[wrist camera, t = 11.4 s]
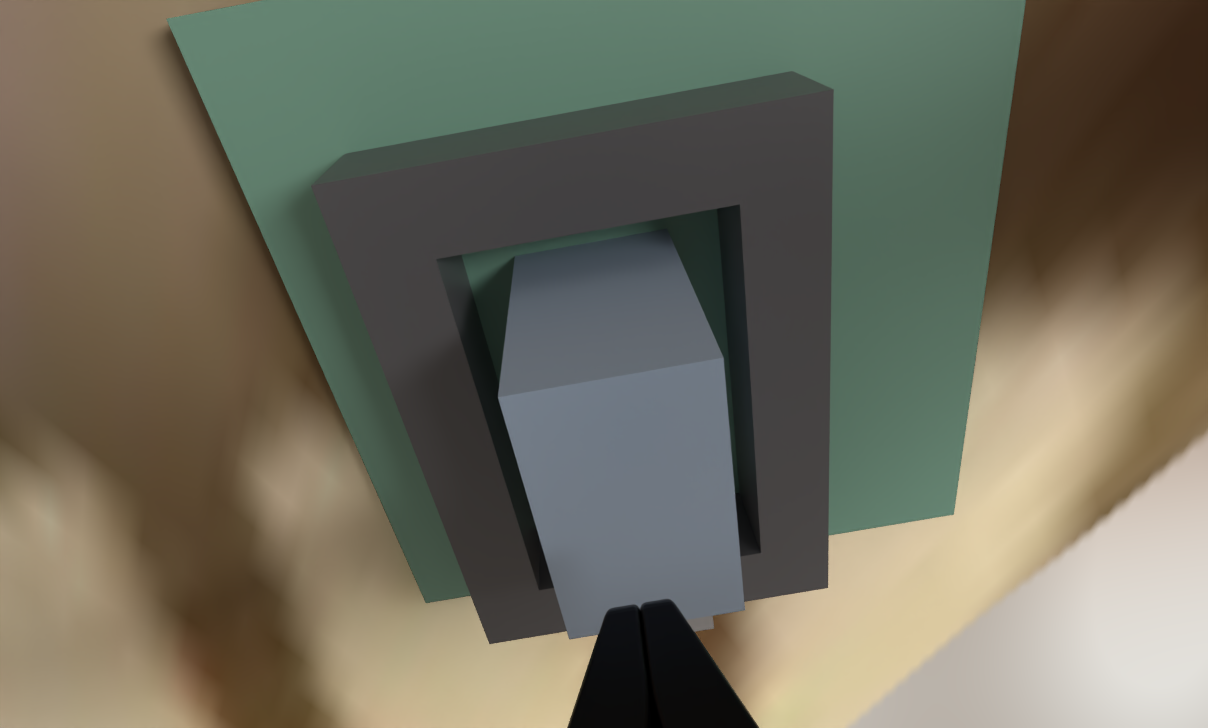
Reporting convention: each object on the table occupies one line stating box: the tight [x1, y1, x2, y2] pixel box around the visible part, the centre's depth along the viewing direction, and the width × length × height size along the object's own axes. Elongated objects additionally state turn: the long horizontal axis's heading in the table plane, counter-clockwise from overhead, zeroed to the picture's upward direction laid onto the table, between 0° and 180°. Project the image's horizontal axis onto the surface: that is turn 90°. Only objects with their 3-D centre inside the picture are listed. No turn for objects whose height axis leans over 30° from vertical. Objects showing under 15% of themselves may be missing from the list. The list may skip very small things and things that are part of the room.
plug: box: [498, 229, 745, 639], centre depth 13 cm, size 3×6×5 cm, turn 9°
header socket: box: [311, 71, 834, 644], centre depth 14 cm, size 8×11×2 cm
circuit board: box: [167, 0, 1026, 603], centre depth 14 cm, size 14×14×1 cm
